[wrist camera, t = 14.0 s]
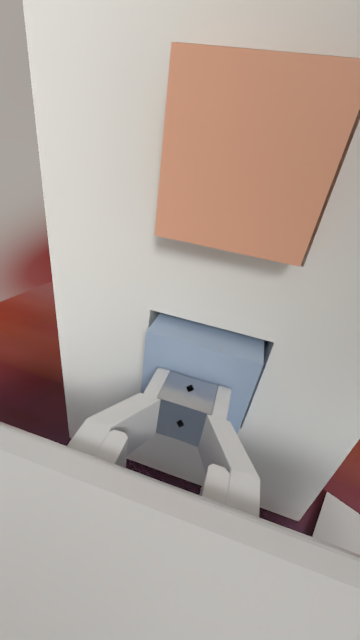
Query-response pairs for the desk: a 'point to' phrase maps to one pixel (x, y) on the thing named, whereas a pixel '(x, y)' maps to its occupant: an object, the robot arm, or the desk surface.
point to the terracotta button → (252, 146)
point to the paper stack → (338, 525)
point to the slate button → (205, 358)
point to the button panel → (182, 257)
